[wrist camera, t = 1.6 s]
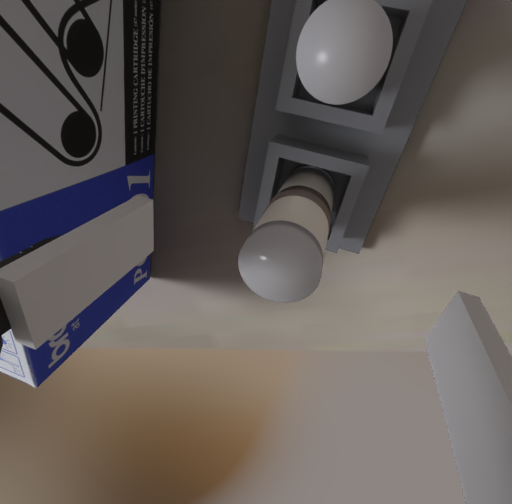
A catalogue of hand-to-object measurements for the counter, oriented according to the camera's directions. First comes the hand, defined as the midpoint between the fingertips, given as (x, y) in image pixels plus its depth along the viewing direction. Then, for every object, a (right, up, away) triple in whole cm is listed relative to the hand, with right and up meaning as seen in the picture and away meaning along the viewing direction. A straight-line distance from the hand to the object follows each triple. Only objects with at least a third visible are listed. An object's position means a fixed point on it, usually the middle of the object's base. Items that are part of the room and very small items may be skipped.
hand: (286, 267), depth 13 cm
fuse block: (+4, +9, +8) cm, 12 cm away
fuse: (+3, +5, +9) cm, 11 cm away
